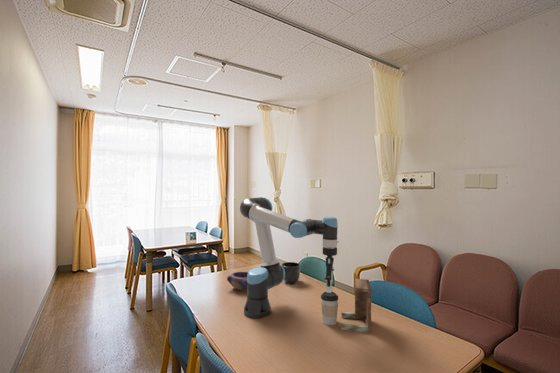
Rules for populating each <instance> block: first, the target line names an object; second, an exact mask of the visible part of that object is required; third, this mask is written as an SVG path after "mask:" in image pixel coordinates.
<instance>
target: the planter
mask: <svg viewBox="0 0 560 373" xmlns="http://www.w3.org/2000/svg"><path fill="white" fill-rule="evenodd" d="M280 265H281V266H282V267H283V268H284V270H285V278H284V280H283V282H284V283H285V284H288V283H289V285H290V284H291V285H294V284H296V283H297V281H299V279H300V277H301V276H300V274H301V264H300V263H298V262H295V261H294V262H293V261H292V262H291V261H287V262H283V263H282V264H280ZM293 283H294V284H293Z"/></svg>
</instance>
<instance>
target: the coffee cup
mask: <svg viewBox="0 0 560 373" xmlns="http://www.w3.org/2000/svg"><path fill="white" fill-rule="evenodd" d="M320 300H321V301H320V305H321V314H322V315H321V316H322V323H323V324H324V325H327V326H334V325H336V324H337V317H338V308H339V296H338V294H337V293H336V292H333V291H332V290H331V293H327V292H326V291H324V292H322V294H321V295H320Z"/></svg>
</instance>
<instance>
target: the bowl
mask: <svg viewBox="0 0 560 373" xmlns="http://www.w3.org/2000/svg"><path fill="white" fill-rule="evenodd" d="M248 272H249V271H235V272H232V273H231V274H229V275H227V277H226V281H227V282H228V283H229V284H230V285H231V286H232V287H233V288H234V289H235V290H236V289H237V291H242V290H244V291H247V274H248Z"/></svg>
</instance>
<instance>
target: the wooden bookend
mask: <svg viewBox="0 0 560 373" xmlns="http://www.w3.org/2000/svg"><path fill="white" fill-rule="evenodd" d="M341 318H342V319H343V318H345V319H353V320H362V321H363V320H364V321H365V324H366V325H360V324H359V325H358V324H349V323H341V324H340V326H341V327H340V330H342V331H350V332H357V333H358V332H359V333H366V334H367V333H368V334H372V287H371V284H370V279H365V278H364V279H363V278H355V279H354V312H346V311H341Z"/></svg>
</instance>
